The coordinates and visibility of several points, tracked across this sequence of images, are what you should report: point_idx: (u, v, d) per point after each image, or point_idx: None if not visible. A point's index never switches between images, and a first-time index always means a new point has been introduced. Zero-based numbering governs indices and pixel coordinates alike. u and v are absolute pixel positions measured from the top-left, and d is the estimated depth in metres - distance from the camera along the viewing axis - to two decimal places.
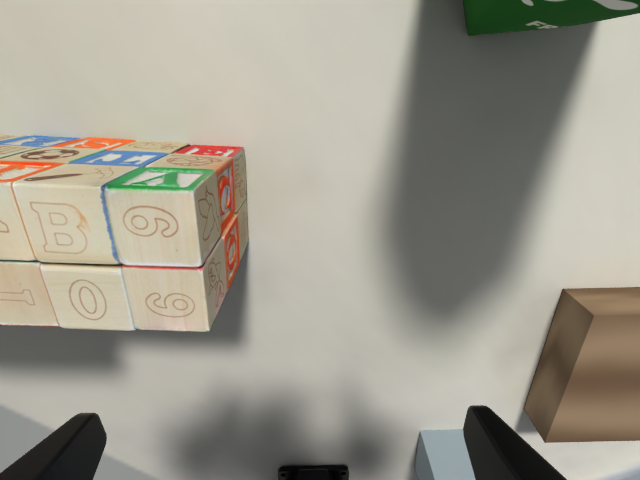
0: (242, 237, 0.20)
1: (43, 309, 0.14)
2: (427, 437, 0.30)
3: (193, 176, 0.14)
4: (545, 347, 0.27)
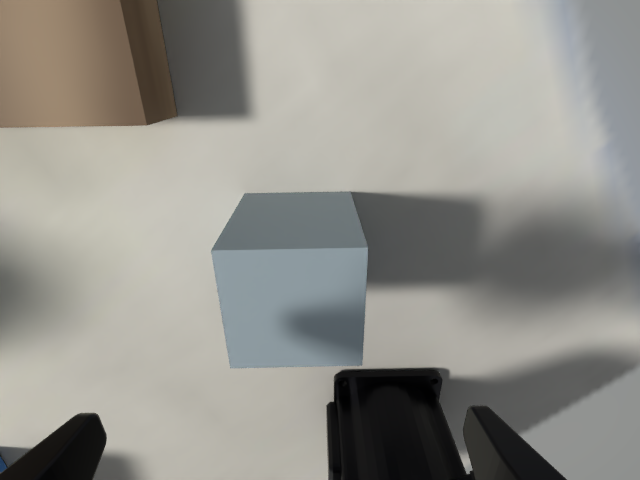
0: None
1: None
2: None
3: None
4: None
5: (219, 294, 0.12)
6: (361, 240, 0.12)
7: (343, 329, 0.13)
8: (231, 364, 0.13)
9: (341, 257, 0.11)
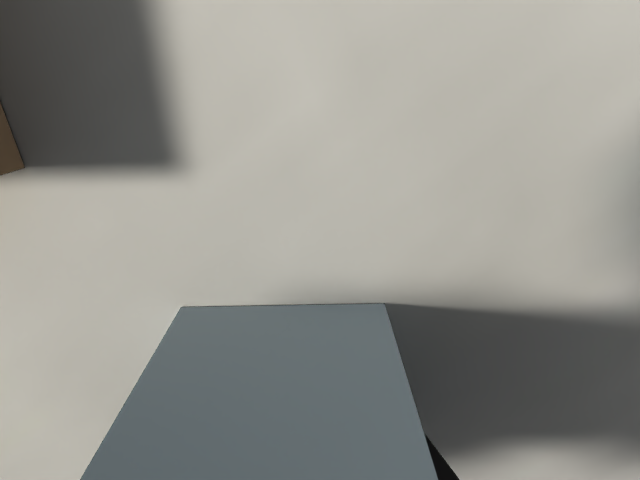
0: None
1: None
2: None
3: None
4: None
5: None
6: None
7: None
8: None
9: None
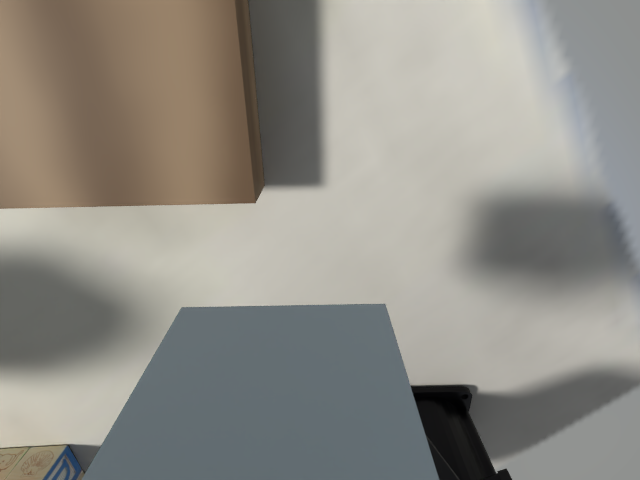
0: (34, 470, 0.25)
1: None
2: None
3: None
4: None
5: None
6: None
7: None
8: None
9: None
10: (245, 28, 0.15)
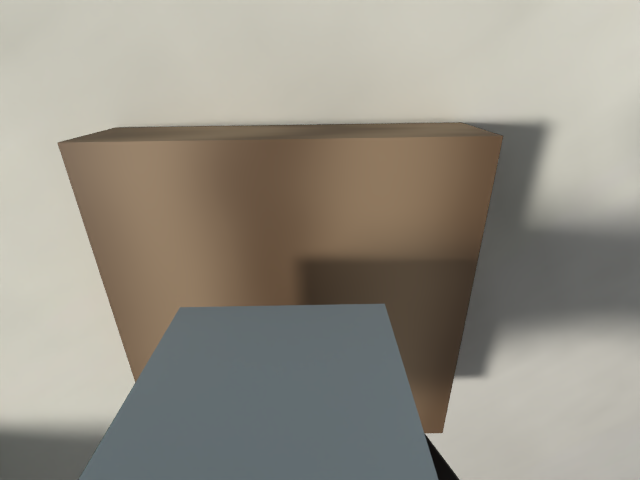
0: None
1: None
2: None
3: None
4: None
5: None
6: None
7: None
8: None
9: None
10: None
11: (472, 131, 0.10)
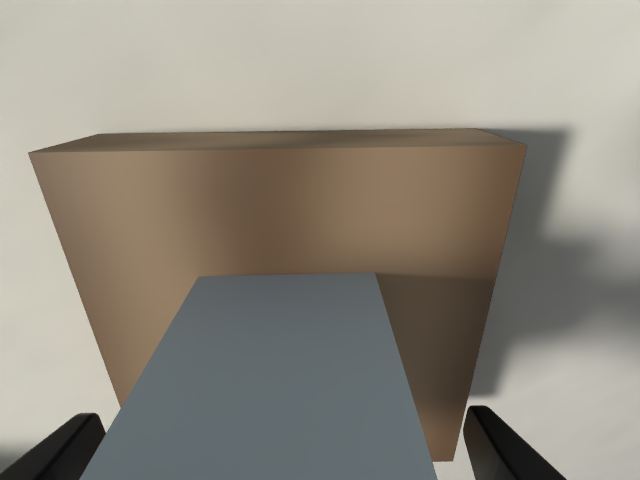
0: None
1: None
2: None
3: None
4: None
5: None
6: (425, 469, 0.05)
7: None
8: None
9: None
10: None
11: (491, 139, 0.09)
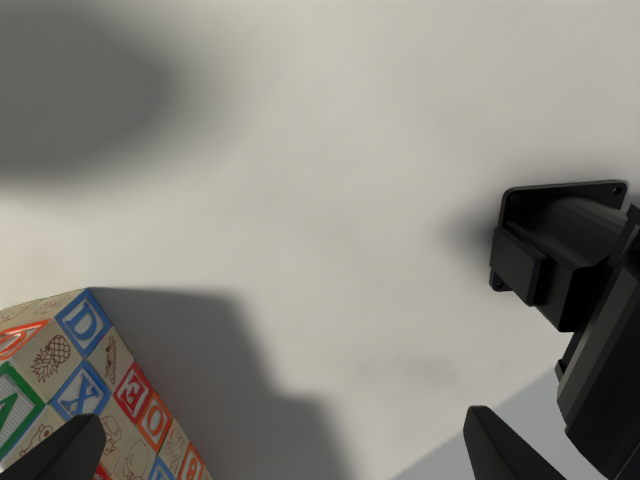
0: (48, 310, 0.20)
1: None
2: None
3: None
4: None
5: None
6: None
7: None
8: None
9: None
10: None
11: None
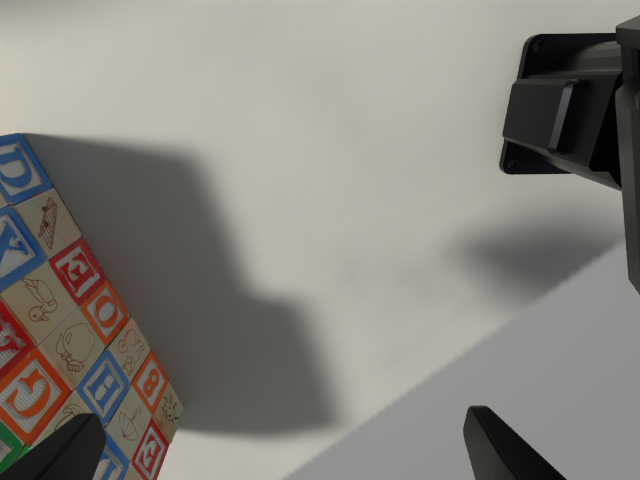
0: None
1: None
2: None
3: None
4: None
5: None
6: None
7: None
8: None
9: None
10: None
11: None
